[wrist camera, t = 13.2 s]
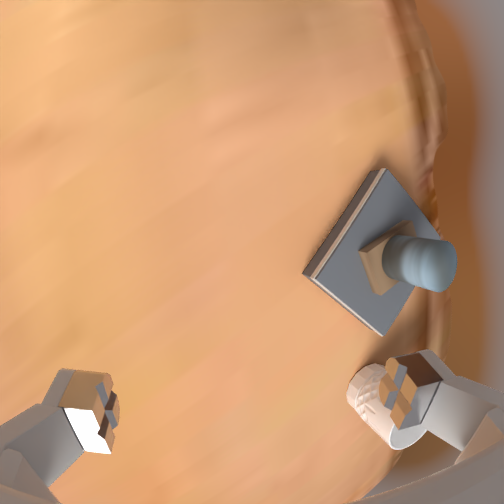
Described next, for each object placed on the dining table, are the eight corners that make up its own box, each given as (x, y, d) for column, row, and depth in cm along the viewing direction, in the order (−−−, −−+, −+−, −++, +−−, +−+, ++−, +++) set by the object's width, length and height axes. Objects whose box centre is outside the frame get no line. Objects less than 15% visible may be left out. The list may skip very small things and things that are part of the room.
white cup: (331, 407, 37) (377, 451, 27) (359, 353, 37) (413, 388, 27) (372, 412, 39) (416, 448, 30) (397, 363, 39) (448, 393, 30)
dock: (370, 170, 34) (387, 167, 31) (424, 235, 38) (441, 237, 35) (300, 273, 33) (315, 279, 30) (368, 329, 37) (384, 337, 34)
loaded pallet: (372, 292, 32) (424, 311, 25) (357, 250, 31) (412, 262, 24) (414, 259, 34) (466, 270, 26) (402, 220, 33) (457, 224, 25)
